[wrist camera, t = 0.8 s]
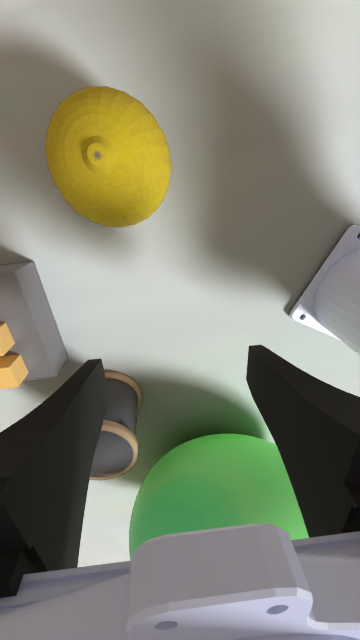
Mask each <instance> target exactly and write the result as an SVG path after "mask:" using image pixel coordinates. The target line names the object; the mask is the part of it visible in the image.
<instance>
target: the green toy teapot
mask: <svg viewBox="0 0 360 640" xmlns="http://www.w3.org/2000/svg"><path fill="white" fill-rule="evenodd" d="M247 524H273V525H275V526H277V527H279V528H281V529H283V530H284V531H286V532H288V534H289V537H290V539H291V540H296V539H304V538H309V536H308V533H307V529H306V526H305V523H304V520H303V517H302V514H301V511H300V508H299V505H298V502H297V499H296V496H295V493H294V490H293V487H292V485H291V482H290V479H289V476H288V474H287V471H286V468H285V466H284V463H283V460H282V458H281V455H280V453H279V450H278V448H277V445H275V444H273V443H271V442H268V441H266V440H263V439H260V438H257V437H253V436H248V435H242V434H213V435H207V436H202V437H198V438H195V439H192V440H189V441H187V442H185V443H182V444H180V445H179V446H177V447H175V448H174V449H172V450H171V451H169V452H168V453H167V454H165V455H164V456H163V457H162V458H161V459H160V460H159V461H158V462H157V463H156V464H155V465H154V466H153V468H152V469H151V470H150V472H149V473H148V475H147V476H146V478H145V479H144V481H143V483H142V485H141V487H140V489H139V492H138V494H137V497H136V500H135V503H134V507H133V511H132V515H131V521H130V530H129V552H130V560H131V558H132V554H133V552H134V550H135V549H136V548H137V547H139V546H140V545H142V544H143V543H144V542H146V541H147V540H149V539H152V538H155V537H159V536H163V535H166V534H174V533H182V532H190V531H198V530H206V529H214V528H222V527H230V526H238V525H247Z"/></svg>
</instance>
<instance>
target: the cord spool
mask: <svg viewBox="0 0 360 640" xmlns="http://www.w3.org/2000/svg"><path fill="white" fill-rule="evenodd" d="M104 373H105V378H106V382H107V387H108V391H109V393H108V401H107V408H106V413H105V417H104V421H103V425H102V428H101V432H100V436H99V439H98V443H97V446H96V450H95V454H94V458H93V462H92V466H91V472H90V478H89V480H107V479H112V478H116V477H118V476H121V475H123V474H125V473H126V472H128V471H129V470H130V469H131V468H132V467H133V466H134V464H135V463H136V461H137V457H138V442H137V439H136V437H135V433H136V421H137V412H138V410H139V409H140V406H141V401H142V392H141V389H140V387H139V385H138V384H137V382H136V381H135V380H134V379H132V378H131V377H129V376H128V375H126V374H123V373H120V372H114V371H105V372H104Z"/></svg>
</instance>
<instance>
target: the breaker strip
mask: <svg viewBox="0 0 360 640" xmlns="http://www.w3.org/2000/svg"><path fill="white" fill-rule="evenodd" d="M67 357H68V355H67V352H66V350H65V347H64V344H63V341H62V338H61V336H60V333H59V330H58V327H57V324H56V322H55V319H54V316H53V313H52V311H51V308H50V305H49V302H48V299H47V297H46V294H45V291H44V288H43V285H42V283H41V280H40V277H39V274H38V271H37V269H36V266H35V263H34V261H31V262H23V263H15V264H7V265H0V389H5V388H12V387H19V385H20V384H21V383H22V382H24V381H31V380H38V379H46V378H53V377H57V375H58V374H59V372H60V370H61V368H62V366H63V364H64V363H65V361H66V359H67Z"/></svg>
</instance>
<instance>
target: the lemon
mask: <svg viewBox="0 0 360 640" xmlns="http://www.w3.org/2000/svg"><path fill="white" fill-rule="evenodd" d="M46 156H47V162H48V167H49V170H50V173H51V175H52V178H53V180H54V183H55V185H56V187H57V188H58V190H59V191H60V193H61V194H62V196H63V197H64V199H65V200H66V201H67V202H68V203H69V204H70V205H71V206H72V207H73V208H74V209H75V210H76V211H77V212H78V213H79V214H81V215H83V216H84V217H86V218H87V219H89V220H91V221H93V222H95V223H98V224H101V225H104V226H110V227H125V226H130V225H135V224H137V223H139V222H141V221H143V220H145V219H147V218H148V217H149V216H150V215H151V214H152V213H153V212H155V211H156V210H157V208H158V207H159V205H160V204H161V202H162V201H163V199H164V197H165V194H166V192H167V189H168V186H169V182H170V173H171V162H170V153H169V148H168V145H167V142H166V139H165V136H164V133H163V131H162V129H161V128H160V126H159V124H158V123H157V121H156V119H155V117H154V116H153V115H152V114H151V113H150V112H149V111H148V110H147V109H146V108H145V107H144V105H143V104H142V103H141V102H139V101H138V100H136V99H135V98H133V97H131V96H130V95H128V94H127V93H125V92H123V91H120V90H116V89H113V88H110V87H87V88H85V89H82V90H79V91H76V92H74V93H72V94H71V95H70V96H69V97H67V98H66V99H65V100H64V101H62V102H61V103H60V105H59V106H58V108H57V109H56V111H55V112H54V114H53V116H52V117H51V120H50V124H49V127H48V130H47V135H46Z"/></svg>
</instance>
